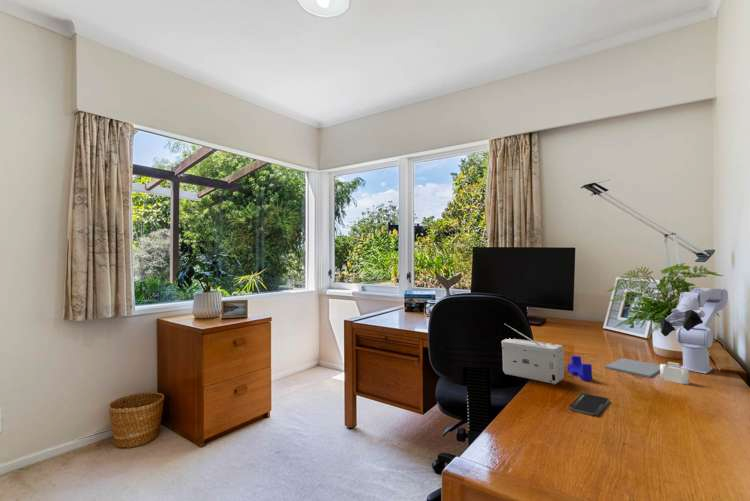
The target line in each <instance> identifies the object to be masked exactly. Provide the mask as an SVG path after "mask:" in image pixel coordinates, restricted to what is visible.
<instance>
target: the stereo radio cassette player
mask: <svg viewBox="0 0 750 501" xmlns="http://www.w3.org/2000/svg"><path fill="white" fill-rule="evenodd" d="M504 325H505V326H507V327H508V328H510V329H511V330H513V331H514V332H516V333H518V334H519V335H521V336H523V337H524V338H526V339H520V338H519V339H517V338H513V339H511V338H510V337H508V338H509V339H507V338H505V339H503V340H501V342H500V343H501V348H502V349H501V351H502V352H501V354H502V371H503V373H504V374H505V375H507V376H508V375H509V376H515V377H519V378H525V379H528V380H529V379H530V380H533V381H534V380H535V381H538V382H539V381H540V382H544V383H548V384H552V385H556V384H558V383H559V382H561V381H562V380H563V379H564V378H565V358H564V356H565V355H564V347H563V346H564V345H562V344H555V343H548V342H542V341H540V342H539V341H535V340H533V339H532V338H529V337H528V336H526V335H525V334H523V333H522V332H519V331H518V330H517V329H515V328H513V327H511V326H510V325H508V324H506V323H504Z"/></svg>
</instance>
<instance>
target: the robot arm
mask: <svg viewBox="0 0 750 501" xmlns="http://www.w3.org/2000/svg"><path fill="white" fill-rule="evenodd" d="M728 300H729V293H728V290H727V289H726V288H713V287H694V289H691V290H690V291H684V292H680V294H679V299H678V304H677V306H676V308H673V309H671V314H669V315H668V316H667V317H666V318H665V317H662V318H659V320H658V322H659V323H658V324H659V325H660V333H661V334H662V335H663V336H664V337H667V336H668V335H670V333H672V332H674V331H676V333H675V338H676V341H677V342H678V343H679V344H680V346H681V347H682V348H681V349H682V365H680V367H683V368H687V369H688V370H689V372H695V373H699V374H700V373H701V374H708V373H709V372H711V371H712V370H713V369H714V368H713V367H712V366H710V356H709V355H710V353H709V350H708V348H709V349H710V348H711V347H712V346H713V340H714V331H712V328H710V326H711V325H712V323H713V321H714V319H715V317H716V316H717V314H718V313H719V311H722V310H725V307H726V306H727V304H728ZM674 326H676V327H678V328H677V329H675V327H674Z"/></svg>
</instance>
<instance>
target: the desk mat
mask: <svg viewBox="0 0 750 501" xmlns="http://www.w3.org/2000/svg"><path fill="white" fill-rule="evenodd" d="M604 369H607V370H612V371H617V372H621V373H625V374H631V375H635V376H639V377H640V376H641V377H645V378H649V379H650V378H652V377H654V376H655V375H657V374H660V364H657V363H650V362H645V361H640V360H639V361H638V360H634V359H628V358H619V359H617V360H615V361H613V362H610V363H609V364H607V365H605V366H604Z"/></svg>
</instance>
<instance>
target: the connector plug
mask: <svg viewBox="0 0 750 501" xmlns="http://www.w3.org/2000/svg"><path fill="white" fill-rule="evenodd" d="M659 365H660V372H659V374H660V378H659V379H660V380H662V381H666V382H671V383H676V384H681V385H689V384H690V375H689V374H690V373H689V372H690V371H689V370H688V369H687V368H683V367H681V363H678V362H673V361H668V362H667V364H665V363H659Z"/></svg>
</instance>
